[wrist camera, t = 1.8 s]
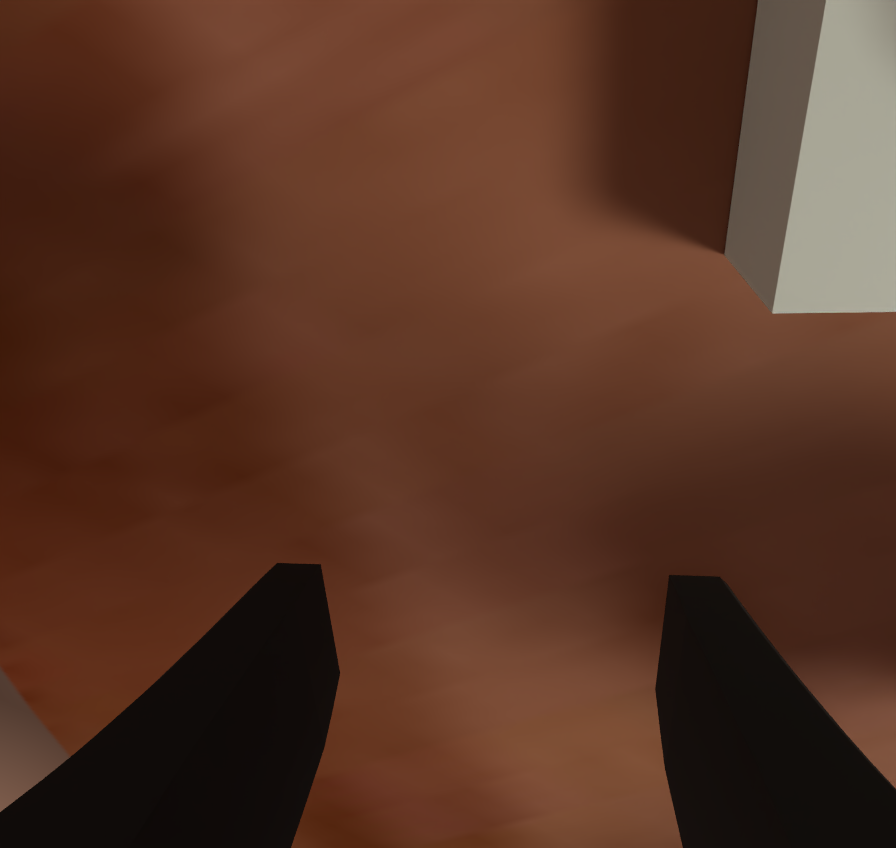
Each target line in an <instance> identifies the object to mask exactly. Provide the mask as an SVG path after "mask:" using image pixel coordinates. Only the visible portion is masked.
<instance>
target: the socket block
mask: <svg viewBox="0 0 896 848" xmlns="http://www.w3.org/2000/svg"><path fill="white" fill-rule="evenodd" d="M724 255H725V257H726V258H727V259H728V260H729V261H730V263H731V264H732V265H733V266H734V268H735V269H736V270H737V271H738V272H739V274H740V275H741V276H742V277H743V278H744V280H745V281H746V282H747V283H748V285H749V286H750V287H751V288H752V289H753V291H754V292H755V293H756V294H757V295H758V297H759V298H760V299H761V300H762V302H763V303H764V304H765V305H766V306H767V308H768V309H769V310H770V311H771V312H772V313H838V312H896V0H758V5H757V13H756V20H755V28H754V35H753V43H752V50H751V58H750V65H749V73H748V81H747V88H746V96H745V103H744V111H743V118H742V126H741V133H740V141H739V148H738V156H737V163H736V171H735V178H734V186H733V193H732V201H731V208H730V216H729V224H728V231H727V239H726V246H725V254H724Z"/></svg>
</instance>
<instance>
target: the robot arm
mask: <svg viewBox="0 0 896 848" xmlns="http://www.w3.org/2000/svg"><path fill="white" fill-rule="evenodd" d="M339 676H340V670H339V665H338V659H337V654H336V648H335V642H334V637H333V631H332V625H331V620H330V614H329V609H328V603H327V597H326V592H325V586H324V581H323V575H322V569H321V564H289V563H277V564H276V565H275V566H274V567H273V568H272V569H270V570H269V571H268V572H267V573H266V574H265V575H264V576H263V577H262V578H261V579H260V580H259V581H258V582H257V583H256V584H255V585H254V586H253V587H252V588H251V589H250V590H249V591H248V592H247V593H246V594H245V595H244V596H243V597H242V598H241V599H240V600H239V601H238V602H237V603H236V604H235V605H234V606H233V607H232V608H231V609H230V610H229V611H228V612H227V613H226V614H225V615H224V616H223V617H222V618H221V619H220V620H219V621H218V622H217V623H216V624H215V625H214V626H213V627H212V628H211V629H210V630H209V631H208V632H207V633H206V634H205V635H204V636H203V637H202V638H201V639H200V640H199V641H198V642H197V643H196V644H195V645H194V646H193V647H192V648H191V649H189V650H188V651H187V652H186V653H185V654H184V655H183V656H182V657H181V658H180V659H179V660H178V661H177V662H176V663H175V664H174V665H173V666H172V667H171V668H170V669H169V670H168V671H167V672H166V673H164V674H163V675H162V676H161V677H160V678H159V679H158V680H157V681H156V682H155V683H154V684H153V685H152V686H151V687H150V688H149V689H148V690H146V691H145V692H144V693H143V694H142V695H141V696H140V697H139V698H138V699H136V700H135V701H134V702H133V703H132V704H131V705H130V706H129V707H127V708H126V709H125V710H124V711H123V712H122V713H121V714H119V715H118V716H117V717H116V718H115V719H114V720H113V721H112V722H110V723H109V724H108V725H107V726H106V727H105V728H104V729H103V730H101V731H100V732H99V733H98V734H97V735H96V736H95V737H94V738H92V739H91V740H90V741H89V742H88V743H87V744H85V745H84V746H83V747H82V748H81V749H80V750H78V751H77V752H76V753H75V754H74V755H72V756H71V757H70V758H69V759H68V760H66V761H65V762H64V763H63V764H61V765H60V766H59V767H58V768H57V769H55V770H54V771H53V772H51V773H50V774H49V775H48V776H47V777H45V778H44V779H43V780H42V781H40V782H39V783H38V784H36V785H35V786H34V787H32V788H31V789H30V790H28V791H27V792H26V793H25V794H23V795H22V796H21V797H19V798H18V799H17V800H15V801H14V802H13V803H12V804H10V805H9V806H8V807H6V808H5V809H4V810H3V811H1V812H0V848H291V846H292V843H293V840H294V837H295V834H296V831H297V828H298V825H299V822H300V819H301V816H302V813H303V810H304V807H305V804H306V801H307V798H308V795H309V792H310V789H311V786H312V783H313V780H314V777H315V774H316V771H317V768H318V765H319V762H320V759H321V756H322V753H323V750H324V747H325V742H326V738H327V733H328V729H329V724H330V720H331V715H332V711H333V706H334V701H335V696H336V691H337V686H338V681H339ZM655 690H656V698H657V707H658V716H659V725H660V733H661V741H662V749H663V757H664V764H665V771H666V775H667V780H668V784H669V789H670V793H671V797H672V802H673V806H674V810H675V815H676V819H677V824H678V828H679V832H680V837H681V841H682V845H683V848H896V789H895V788H894V787H893V786H892V784H891V783H890V782H889V781H888V780H887V779H886V778H885V777H884V776H883V775H882V774H881V773H880V772H879V770H878V769H877V768H876V767H875V766H874V765H873V764H872V763H871V762H870V761H869V760H868V758H867V757H866V756H865V755H864V754H863V753H862V752H861V750H860V749H859V748H858V747H857V746H856V745H855V744H854V743H853V741H852V740H851V739H850V738H849V737H848V736H847V735H846V734H845V732H844V731H843V730H842V729H841V728H840V726H839V725H838V724H837V723H836V722H835V721H834V719H833V718H832V717H831V716H830V715H829V713H828V712H827V711H826V710H825V709H824V708H823V706H822V705H821V704H820V703H819V702H818V700H817V699H816V698H815V697H814V696H813V694H812V693H811V692H810V691H809V690H808V689H807V687H806V686H805V685H804V684H803V683H802V681H801V680H800V679H799V678H798V676H797V675H796V674H795V673H794V671H793V670H792V669H791V668H790V666H789V665H788V664H787V663H786V661H785V660H784V659H783V658H782V656H781V655H780V654H779V652H778V651H777V650H776V649H775V647H774V646H773V645H772V644H771V642H770V641H769V640H768V638H767V637H766V636H765V634H764V633H763V632H762V631H761V629H760V628H759V627H758V625H757V624H756V623H755V621H754V620H753V619H752V617H751V616H750V615H749V613H748V612H747V611H746V609H745V608H744V607H743V605H742V604H741V602H740V601H739V600H738V598H737V597H736V596H735V594H734V593H733V592H732V590H731V589H730V587H729V586H728V585H727V584H726V583H725V582H724V581H723V580H722V579H721V578H720V577H713V576H680V575H669V582H668V590H667V598H666V606H665V615H664V623H663V631H662V639H661V647H660V656H659V664H658V672H657V680H656V688H655Z"/></svg>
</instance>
